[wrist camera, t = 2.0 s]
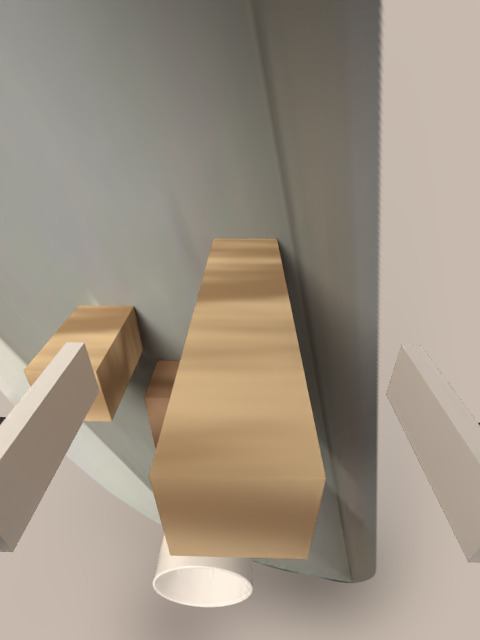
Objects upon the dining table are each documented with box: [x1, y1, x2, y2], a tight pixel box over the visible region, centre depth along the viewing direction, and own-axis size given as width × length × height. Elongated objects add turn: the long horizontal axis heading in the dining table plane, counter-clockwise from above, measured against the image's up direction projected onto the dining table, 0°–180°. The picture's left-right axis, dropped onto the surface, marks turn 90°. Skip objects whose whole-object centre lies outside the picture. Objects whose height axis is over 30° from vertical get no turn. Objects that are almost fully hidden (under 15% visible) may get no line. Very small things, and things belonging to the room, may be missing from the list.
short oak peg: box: [23, 306, 143, 421], centre depth 22 cm, size 4×4×7 cm
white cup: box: [153, 534, 253, 607], centre depth 30 cm, size 8×8×10 cm
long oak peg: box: [149, 239, 326, 559], centre depth 15 cm, size 4×4×16 cm
